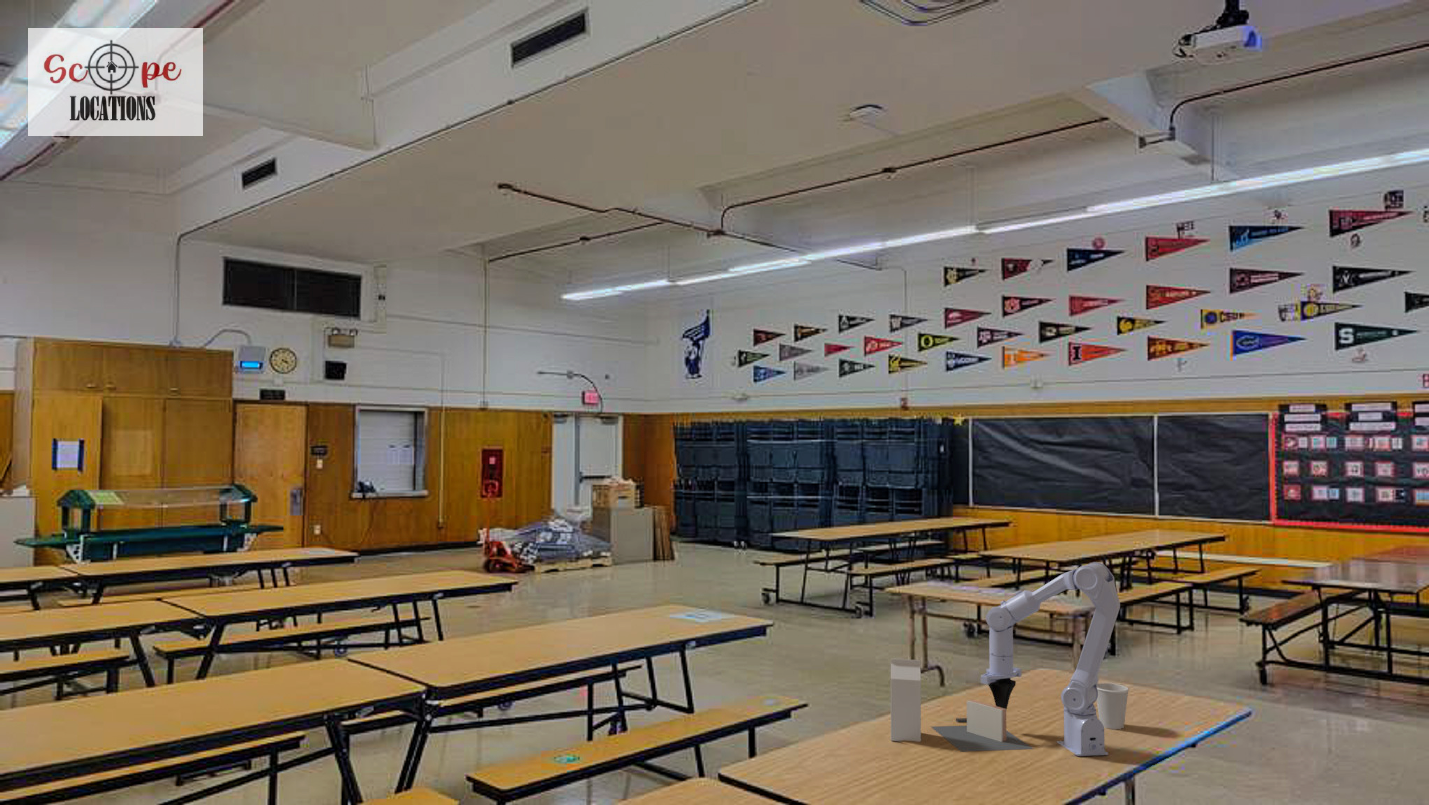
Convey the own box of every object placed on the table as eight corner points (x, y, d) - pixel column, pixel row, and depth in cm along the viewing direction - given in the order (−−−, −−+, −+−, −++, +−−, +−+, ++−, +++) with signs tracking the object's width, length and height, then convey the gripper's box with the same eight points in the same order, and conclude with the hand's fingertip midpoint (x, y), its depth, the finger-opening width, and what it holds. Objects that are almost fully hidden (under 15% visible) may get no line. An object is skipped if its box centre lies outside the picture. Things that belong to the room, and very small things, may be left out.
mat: (1033, 751, 212) (1033, 749, 212) (961, 753, 210) (961, 751, 210) (997, 726, 231) (997, 724, 231) (930, 728, 229) (930, 726, 229)
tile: (971, 730, 226) (971, 699, 227) (1006, 740, 218) (1006, 709, 219) (966, 731, 225) (966, 701, 225) (1001, 742, 217) (1001, 710, 218)
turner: (991, 718, 238) (991, 714, 238) (1003, 726, 231) (1003, 722, 231) (922, 720, 236) (922, 716, 236) (932, 728, 229) (932, 724, 229)
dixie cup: (1122, 722, 236) (1122, 683, 237) (1134, 731, 228) (1134, 691, 229) (1089, 720, 237) (1089, 682, 238) (1100, 730, 229) (1099, 690, 229)
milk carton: (920, 743, 217) (920, 663, 218) (890, 741, 218) (890, 662, 219) (920, 734, 224) (920, 657, 225) (890, 732, 225) (891, 655, 226)
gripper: (1004, 648, 234) (1004, 701, 233) (970, 655, 225) (970, 710, 225) (1028, 653, 229) (1028, 707, 228) (994, 660, 220) (994, 717, 219)
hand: (1001, 709), depth 226 cm, fingers closed
